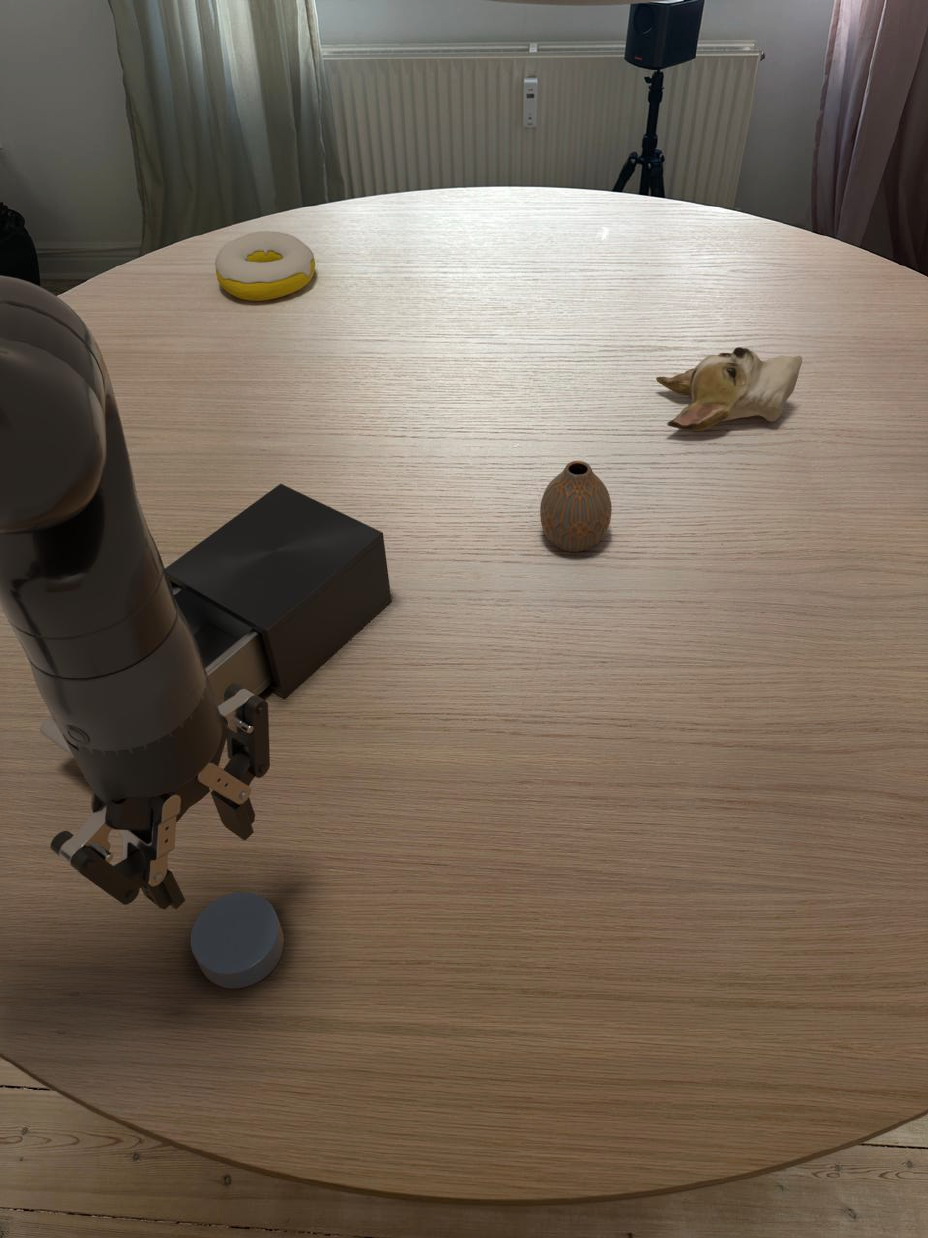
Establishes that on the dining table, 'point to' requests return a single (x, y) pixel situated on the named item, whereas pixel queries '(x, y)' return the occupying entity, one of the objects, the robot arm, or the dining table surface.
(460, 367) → the dining table surface
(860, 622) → the dining table surface
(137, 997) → the dining table surface
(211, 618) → the drawer
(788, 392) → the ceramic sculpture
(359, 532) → the cabinet
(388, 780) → the dining table surface
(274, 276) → the donut
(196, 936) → the cylinder
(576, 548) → the vase
